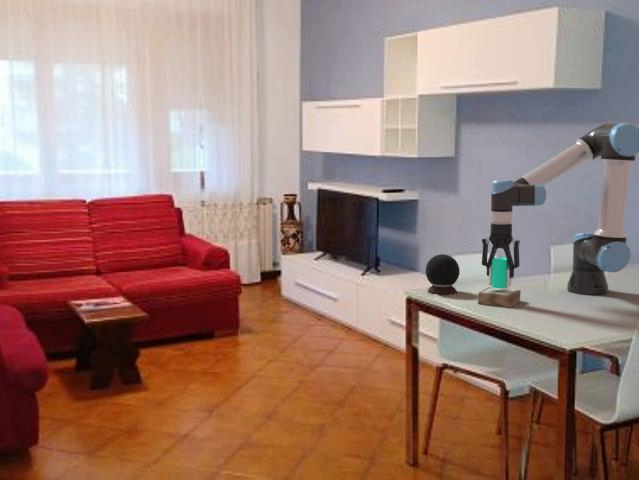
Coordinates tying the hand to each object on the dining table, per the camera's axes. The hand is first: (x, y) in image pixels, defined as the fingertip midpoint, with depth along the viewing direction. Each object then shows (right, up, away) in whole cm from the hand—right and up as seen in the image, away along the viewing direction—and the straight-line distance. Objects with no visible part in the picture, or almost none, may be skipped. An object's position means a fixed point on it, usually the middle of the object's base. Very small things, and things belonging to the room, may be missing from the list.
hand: (499, 285), depth 263 cm
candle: (0, -1, 0) cm, 1 cm away
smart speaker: (-18, -4, +20) cm, 27 cm away
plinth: (0, -6, +1) cm, 6 cm away
